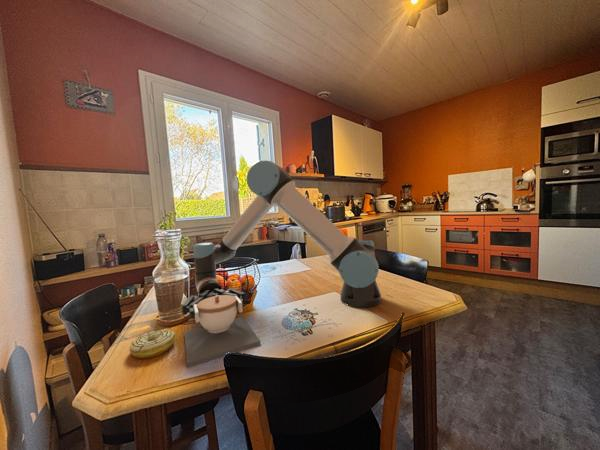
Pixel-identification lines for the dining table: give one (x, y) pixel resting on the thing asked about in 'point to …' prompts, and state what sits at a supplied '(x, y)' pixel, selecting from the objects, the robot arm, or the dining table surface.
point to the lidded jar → (217, 312)
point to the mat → (218, 342)
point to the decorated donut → (152, 344)
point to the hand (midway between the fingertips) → (220, 312)
